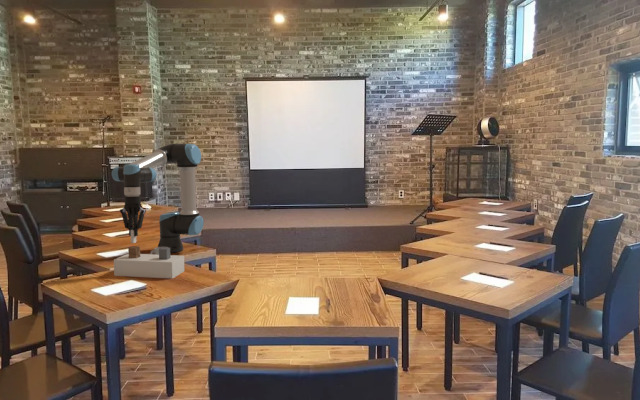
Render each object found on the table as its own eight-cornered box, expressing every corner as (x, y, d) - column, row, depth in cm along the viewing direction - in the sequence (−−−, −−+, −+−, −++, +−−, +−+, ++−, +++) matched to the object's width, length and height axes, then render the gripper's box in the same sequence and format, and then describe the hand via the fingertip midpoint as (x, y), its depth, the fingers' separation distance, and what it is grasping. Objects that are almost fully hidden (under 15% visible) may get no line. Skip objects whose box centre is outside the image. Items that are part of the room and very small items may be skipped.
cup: (166, 266, 252) (165, 249, 251) (147, 265, 253) (147, 249, 252) (170, 262, 260) (170, 246, 259) (152, 262, 260) (152, 246, 259)
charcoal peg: (162, 261, 238) (162, 247, 238) (170, 261, 238) (170, 247, 237) (159, 263, 234) (158, 249, 234) (166, 263, 234) (166, 249, 233)
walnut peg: (133, 259, 240) (132, 246, 240) (140, 260, 240) (140, 246, 239) (128, 261, 237) (128, 247, 236) (136, 262, 236) (135, 248, 235)
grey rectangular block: (129, 268, 247) (128, 253, 246) (184, 271, 243) (184, 255, 242) (114, 275, 233) (113, 259, 232) (172, 278, 229) (172, 262, 228)
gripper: (115, 195, 232) (117, 243, 234) (141, 196, 230) (142, 244, 232) (124, 194, 239) (125, 240, 241) (148, 195, 237) (149, 241, 240)
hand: (133, 242), depth 237 cm, fingers closed
